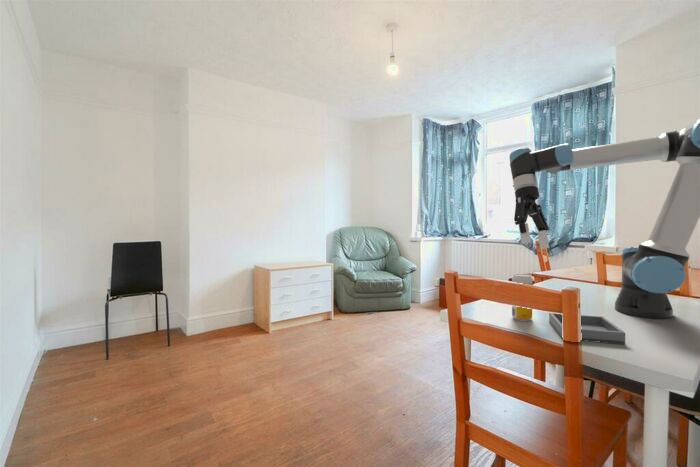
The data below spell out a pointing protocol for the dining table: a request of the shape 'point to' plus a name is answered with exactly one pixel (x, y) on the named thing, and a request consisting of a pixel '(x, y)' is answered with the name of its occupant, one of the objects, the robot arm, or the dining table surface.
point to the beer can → (520, 312)
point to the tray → (592, 328)
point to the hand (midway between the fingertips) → (536, 245)
